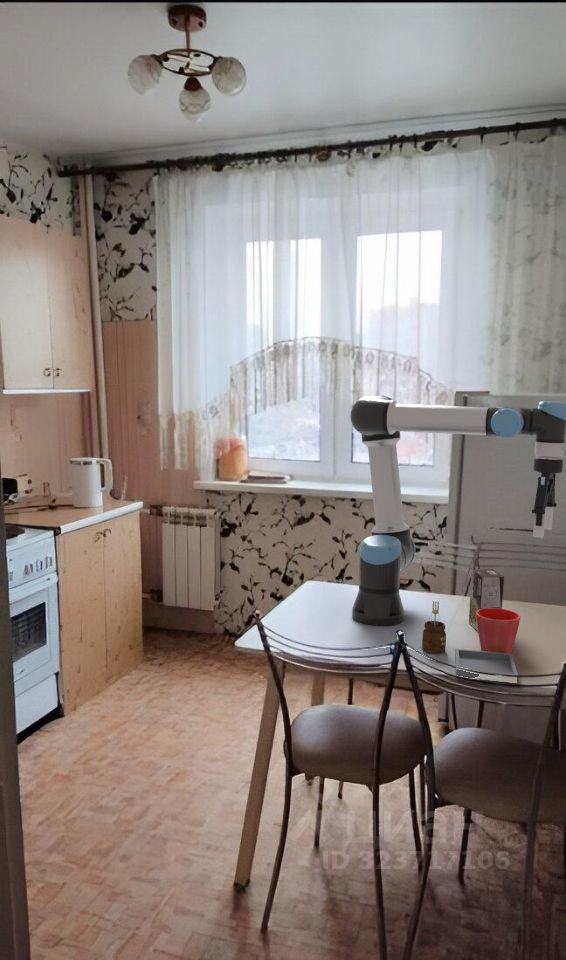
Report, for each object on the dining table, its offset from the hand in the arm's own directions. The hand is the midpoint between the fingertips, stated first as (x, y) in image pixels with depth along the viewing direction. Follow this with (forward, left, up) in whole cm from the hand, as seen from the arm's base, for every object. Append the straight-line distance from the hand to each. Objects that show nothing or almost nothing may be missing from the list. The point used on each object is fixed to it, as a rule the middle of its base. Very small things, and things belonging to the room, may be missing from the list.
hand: (542, 533), depth 195 cm
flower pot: (-13, -22, -27) cm, 37 cm away
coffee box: (-15, -5, -27) cm, 31 cm away
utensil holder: (-29, -26, -27) cm, 47 cm away
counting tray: (-17, -36, -27) cm, 48 cm away
